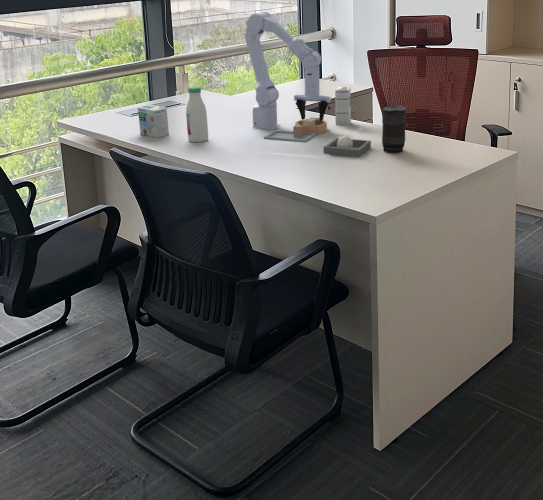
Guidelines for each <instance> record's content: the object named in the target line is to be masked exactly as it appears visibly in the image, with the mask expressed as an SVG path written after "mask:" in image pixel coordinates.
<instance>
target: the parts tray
mask: <svg viewBox="0 0 543 500" xmlns="http://www.w3.org/2000/svg"><path fill="white" fill-rule="evenodd" d="M316 136H317V133H307V132H305V136H304V137H294V134H293V131H291V130H283V129H281V130H279V129H275V130H273V131H272V132H269V133H268V134H266V135H264V136H263V139H264V140H274V141H275V140H276V141H286V142H297V143H298V142H301V143H306V142H308V141H310V140H312V138H315V137H316Z"/></svg>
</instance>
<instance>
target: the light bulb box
mask: <svg viewBox="0 0 543 500" xmlns="http://www.w3.org/2000/svg"><path fill="white" fill-rule="evenodd" d="M137 114H138V123H139V124H138V125H139V133H140V135H145V136H148V137H152V138H160V137H161V138H162V137H164V136H169V135H170V130H169V120H168V118H169V117H168V109H167V107H164V106H158V105H154V104H147V105H144V106H138V107H137Z"/></svg>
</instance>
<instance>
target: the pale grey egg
mask: <svg viewBox="0 0 543 500" xmlns="http://www.w3.org/2000/svg"><path fill="white" fill-rule="evenodd" d="M338 138H339V139H338V141H337V146H336V147H340V148H351V149H353V147H352V146H353V141H352V139H353V138H351V137H350V136H349V135H342V136H340V137H338Z"/></svg>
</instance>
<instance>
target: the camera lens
mask: <svg viewBox="0 0 543 500" xmlns="http://www.w3.org/2000/svg"><path fill="white" fill-rule="evenodd" d="M381 115H382V116H381V117H382V119H381V124H382V133H381V134H382V135H381V141H382V142H381V144H382V149H383V152H385V153H388V154H399V153H403V151H404V147H405V144H406V124H407V108H406V107H405V106H402V105H390V106H385V107H383V108H382V114H381Z"/></svg>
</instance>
